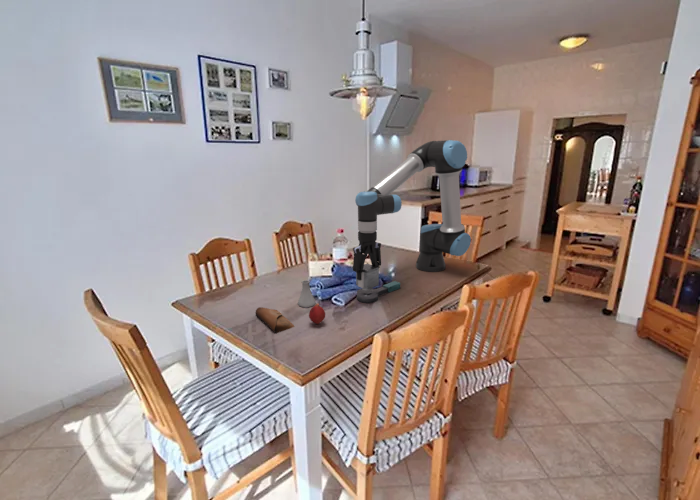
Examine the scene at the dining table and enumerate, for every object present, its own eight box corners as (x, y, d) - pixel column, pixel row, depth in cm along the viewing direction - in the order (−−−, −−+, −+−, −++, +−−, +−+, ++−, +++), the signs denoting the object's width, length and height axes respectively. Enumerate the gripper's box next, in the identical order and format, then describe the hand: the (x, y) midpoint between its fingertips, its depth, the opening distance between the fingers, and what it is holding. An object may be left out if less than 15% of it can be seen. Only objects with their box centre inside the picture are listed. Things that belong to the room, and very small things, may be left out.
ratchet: (390, 284, 167) (390, 270, 165) (405, 290, 160) (405, 275, 158) (352, 298, 152) (352, 283, 150) (367, 305, 145) (367, 288, 144)
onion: (312, 329, 127) (311, 308, 125) (307, 322, 132) (306, 302, 130) (327, 325, 129) (327, 305, 127) (322, 319, 134) (321, 299, 132)
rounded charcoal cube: (367, 281, 154) (367, 263, 152) (378, 285, 150) (378, 267, 147) (356, 285, 150) (356, 267, 148) (367, 289, 145) (367, 270, 143)
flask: (308, 299, 152) (307, 277, 149) (319, 304, 147) (318, 281, 144) (294, 304, 147) (293, 281, 145) (305, 309, 142) (304, 286, 140)
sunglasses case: (296, 326, 128) (287, 314, 125) (282, 340, 126) (271, 328, 123) (275, 309, 143) (266, 298, 139) (261, 322, 140) (252, 311, 137)
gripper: (377, 226, 152) (377, 277, 159) (342, 233, 140) (343, 288, 146) (390, 228, 147) (389, 281, 153) (355, 236, 135) (356, 293, 141)
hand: (367, 284), depth 150 cm, fingers closed on rounded charcoal cube, 7 cm apart
